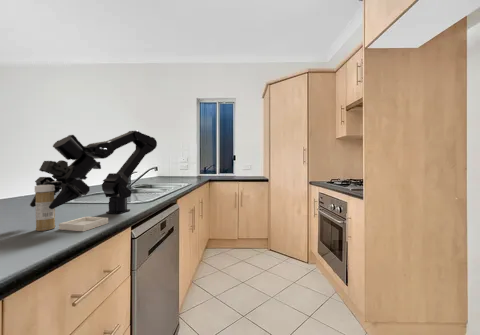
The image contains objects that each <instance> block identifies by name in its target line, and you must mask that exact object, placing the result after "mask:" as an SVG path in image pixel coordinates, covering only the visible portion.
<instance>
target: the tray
mask: <svg viewBox="0 0 480 335" xmlns="http://www.w3.org/2000/svg"><path fill="white" fill-rule="evenodd" d="M107 224H109V217H103V216H102V217H99V216H83V217H78V218H76V219H72V220H68V221H67V220H66V221H63V222H60V223H58V230H60V231H61V230H62V231H74V232H75V231H77V232H86V231H89V230H92V229H94V228H98V227H100V226H101V227H102V226H104V225H107Z"/></svg>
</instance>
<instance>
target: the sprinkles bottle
mask: <svg viewBox="0 0 480 335" xmlns="http://www.w3.org/2000/svg"><path fill="white" fill-rule="evenodd" d="M34 192H35V193H34V194H35V195H36V202H35V203H36V206H35V227H36V228H35V231H37V232H38V231H40V232H41V231H42V232H43V231H49V230H53V229H55V228H56V225H55V224H56V220H55V219H56V218H55V217H56V208H54V209H50V208H49V206H50V204H51V203H52V201H53V200H54V199H55V195H54V192H55V185H35V186H34Z"/></svg>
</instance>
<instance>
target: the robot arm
mask: <svg viewBox="0 0 480 335" xmlns="http://www.w3.org/2000/svg"><path fill="white" fill-rule="evenodd" d="M131 143H133V144H134V145H135V150H134V151H133V152H132V153H131V155H129V157H128V158H127V159H126V161H125V162H124V163H123V164H122V166H121V167H120V168H119V169H118V171H117V172H115V173H114V172H113V173H112V172H109V173H108V174H107V176H106V177H105V178H104V179H103V180H102V184H101V189H102V192H103V193H104V196H105V198H108V199H109V200H108V211H105V214H117V215H118V214H120V215H121V214H123V213H126V211H127V212H129V211H131V209H130V208H129V209H128V198H130V197H132V196H131V195H132V193H133V192H132V190H130V188H129V187H128V185H129V178H130V177H131V176H132V174H133V172H134V171H135V170H136V169H137V167H138V166H139V164H140V163H141V162H142V161H143V159H144V158H145V156H147V155H148V154H150V153H152V152H153V151H154V150H155V149H156V148H157V146H158V145H157V144H158V143H157V140H156V138H155V137H152V136H150V135H148V134H146V133H142V132H140V131H139V130H129V131H127V132H126V133H124V134H120V135H118V136H115V137H113V138H111V139H109V140H106V141H105V140H103V141H97V142H93V143H89V144H87V145H84V144H82V143H81V142H80V140H78V138H77V137H76V136H75V135H74V134H69V135H67V136H65V137H63V138H61V139H58V140H56V142H54V143H53V144H52V148H54V150H56V151H57V152H58V154H60V155H61V156H62V157H63V158H65V160H58V161H55V160H54V161H53V160H43V162H42V164H41V165H40V168H39V169H38V170H39V171H40V172H42V173H43V172H44V173H47V174H50V175H52V176H39V177H38V178H37V179H36V180H35V181H34V182H35V186H37V185H55V192H54V196H55V195H56V197H54V200H53V201H52V203H51V204H50V206H49V208H50V209H54V208H55V209H56V208H58V207H60V206H62V205H64V204H66V203H69V202H71V201H73V200H76V199H78V198H81V197H82V196H87V195H88V193H89V192H90V186H89V185H88V184H87V183H86V182H85V181H83V180H86V179H88V177H87V175H88V173H90V171H92V170H101V169H102V165H101V161H97V160H98V159H107V158H109V157H110V156H111V155H113V154H114V152H115V151H116V150H117V149H120V148H122V147H124V146H126V145H128V144H131ZM66 160H67V161H66ZM71 160H72V161H73V162H71V163H70V164H68V161H71ZM57 193H58V194H57ZM35 202H36V194H35V195H34V196H33V198H32V200H31V202H30V204H29V206H30V207H32V208H36V203H35Z"/></svg>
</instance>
